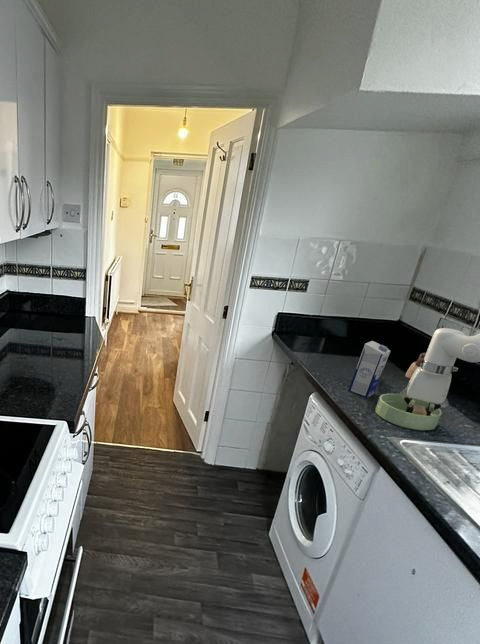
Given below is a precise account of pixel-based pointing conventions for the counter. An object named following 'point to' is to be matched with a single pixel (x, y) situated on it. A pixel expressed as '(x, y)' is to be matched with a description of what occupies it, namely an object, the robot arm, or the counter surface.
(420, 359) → the figurine
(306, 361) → the counter surface
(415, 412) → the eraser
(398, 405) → the bowl
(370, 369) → the milk carton
